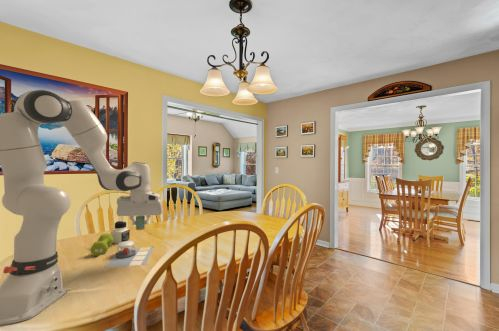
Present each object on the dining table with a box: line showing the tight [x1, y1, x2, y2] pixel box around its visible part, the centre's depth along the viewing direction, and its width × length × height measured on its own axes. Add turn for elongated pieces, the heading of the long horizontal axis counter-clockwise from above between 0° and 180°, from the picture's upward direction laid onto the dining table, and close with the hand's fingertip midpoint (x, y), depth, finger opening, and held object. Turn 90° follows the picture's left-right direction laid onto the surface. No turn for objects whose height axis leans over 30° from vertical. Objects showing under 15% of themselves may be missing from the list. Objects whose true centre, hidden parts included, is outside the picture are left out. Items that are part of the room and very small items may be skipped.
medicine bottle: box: [110, 220, 131, 245], centre depth 140 cm, size 7×7×12 cm
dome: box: [116, 240, 135, 253], centre depth 119 cm, size 7×7×3 cm
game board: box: [104, 246, 155, 268], centre depth 118 cm, size 23×17×4 cm
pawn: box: [135, 215, 146, 231], centre depth 114 cm, size 4×4×6 cm
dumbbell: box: [89, 233, 114, 257], centre depth 126 cm, size 16×8×7 cm, turn 18°
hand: (140, 224), depth 114 cm, fingers closed on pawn, 4 cm apart
